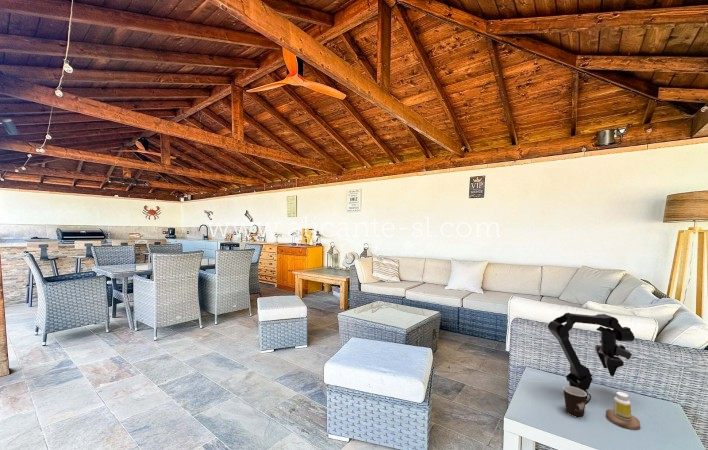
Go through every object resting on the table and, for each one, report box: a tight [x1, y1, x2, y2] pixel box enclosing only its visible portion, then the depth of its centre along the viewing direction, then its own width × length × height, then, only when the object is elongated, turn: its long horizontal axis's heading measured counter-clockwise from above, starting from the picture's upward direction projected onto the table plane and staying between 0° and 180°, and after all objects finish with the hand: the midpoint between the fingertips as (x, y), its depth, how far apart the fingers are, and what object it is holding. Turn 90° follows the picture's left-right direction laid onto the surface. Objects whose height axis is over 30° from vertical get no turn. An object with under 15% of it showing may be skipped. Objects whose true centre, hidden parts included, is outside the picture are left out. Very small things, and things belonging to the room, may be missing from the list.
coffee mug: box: [562, 385, 592, 418], centre depth 133 cm, size 12×9×10 cm
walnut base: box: [605, 408, 641, 431], centre depth 128 cm, size 11×11×2 cm
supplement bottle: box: [613, 391, 632, 420], centre depth 128 cm, size 5×5×10 cm
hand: (608, 372), depth 146 cm, fingers open, 9 cm apart
